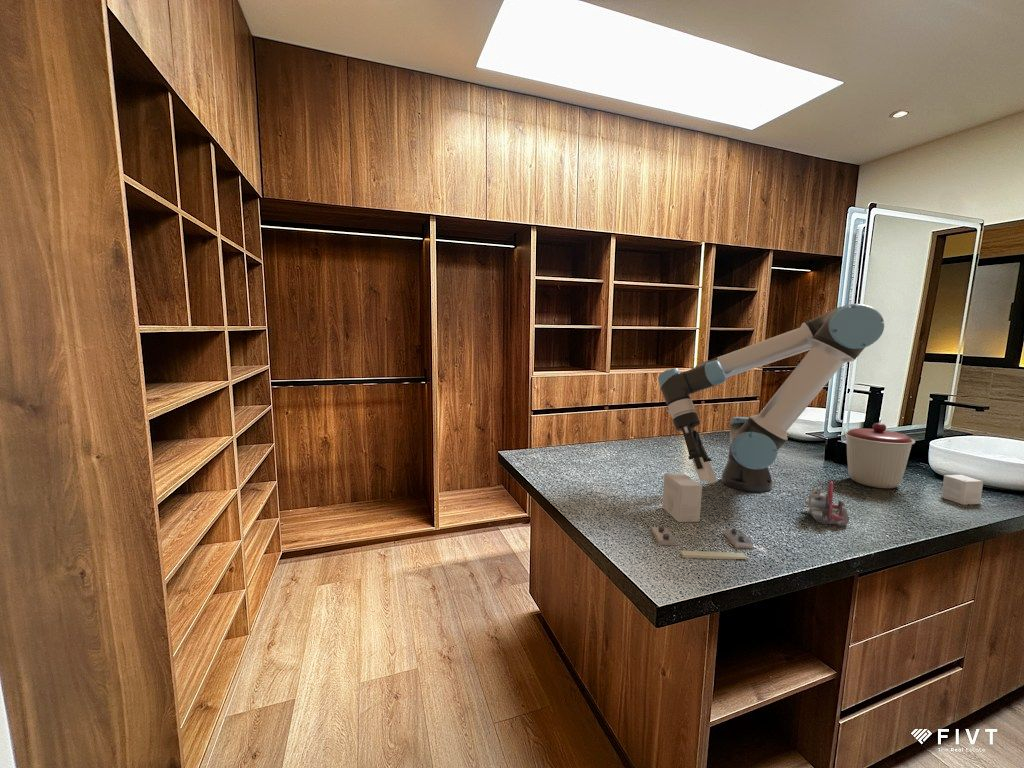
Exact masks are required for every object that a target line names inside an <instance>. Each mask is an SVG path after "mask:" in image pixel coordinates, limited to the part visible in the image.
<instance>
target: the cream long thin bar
mask: <svg viewBox="0 0 1024 768" xmlns="http://www.w3.org/2000/svg"><path fill="white" fill-rule="evenodd" d="M680 554H681V556H682V557H683V558H688V559H712V560H713V559H714V560H715V559H717V560H736V559H745V560H744V561H747V560H748V557H747V556H746V555H745V553H743V552H733V551H732V552H731V551H730V552H728V551H726V552H725V551H705V550H704V551H701V550H680Z"/></svg>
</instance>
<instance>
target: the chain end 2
mask: <svg viewBox="0 0 1024 768" xmlns="http://www.w3.org/2000/svg"><path fill="white" fill-rule="evenodd" d="M722 533H723V534H722V535H724V536H725V537H726V539H727V540H728V541H729V542H730V543H731V544H732V545H733V546H734V548H735V549H754V543H753V541H751V540H750V539H749V537H747V535H745V534H744V533H743V532H742V531H741V530H740V529H736V528H731V529H728V528H727V529H726V528H724V529H723V532H722Z"/></svg>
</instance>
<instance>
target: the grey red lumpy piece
mask: <svg viewBox="0 0 1024 768" xmlns="http://www.w3.org/2000/svg"><path fill="white" fill-rule="evenodd" d="M833 492H834V481H830V482H829V485H828V488H827V492H826V493H822V489H821V488H820V487H816V488H815V487H812V489H811V492H810V493H809V494H808V498H807V499H804V503H805V504H807V506H808V509H804V511H805V512H807V513H808V514H810V515H811V516H812V518H813V519H814V520H815V521H816V522H817V523H818V522H819V524H821V523H822V524H823V525H826V524H829V525H831V524H833V525H832V526H837V525H838V527H845V526H847V525H848V524H849V522H850V516H849V514H848V513H849V512H848V509H847V507H846V503H845V502H844V500H841V499H840V500H838V503H837V504H833V497H834V495H833ZM822 524H821V525H822Z"/></svg>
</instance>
